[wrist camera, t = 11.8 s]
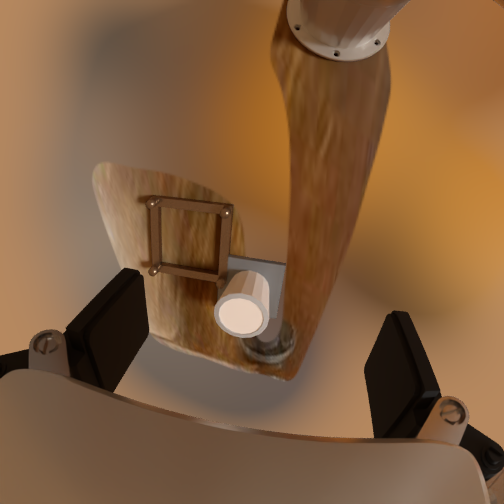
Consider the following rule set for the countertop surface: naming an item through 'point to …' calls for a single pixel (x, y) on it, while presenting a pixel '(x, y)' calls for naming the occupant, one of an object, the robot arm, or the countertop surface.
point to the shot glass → (244, 305)
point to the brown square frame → (194, 205)
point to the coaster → (265, 268)
